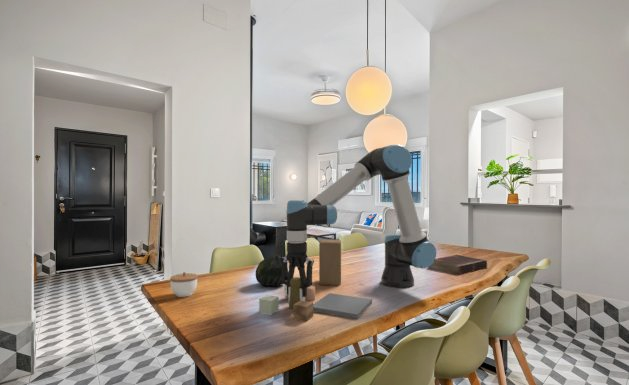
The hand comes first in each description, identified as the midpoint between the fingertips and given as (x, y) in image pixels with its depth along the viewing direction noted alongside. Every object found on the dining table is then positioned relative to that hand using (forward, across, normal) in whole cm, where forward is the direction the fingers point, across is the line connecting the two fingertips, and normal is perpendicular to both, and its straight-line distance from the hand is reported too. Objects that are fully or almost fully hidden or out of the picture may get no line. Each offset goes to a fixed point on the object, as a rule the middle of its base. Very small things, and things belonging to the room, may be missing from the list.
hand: (296, 304), depth 122 cm
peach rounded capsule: (+1, 0, -10) cm, 10 cm away
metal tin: (+1, +7, -8) cm, 11 cm away
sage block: (+1, +7, +8) cm, 11 cm away
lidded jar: (+1, +50, +7) cm, 51 cm away
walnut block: (+1, -7, +8) cm, 11 cm away
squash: (+1, +25, -22) cm, 33 cm away
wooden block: (+1, +2, -37) cm, 37 cm away
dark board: (+1, -15, -8) cm, 17 cm away
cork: (+1, 0, 0) cm, 1 cm away
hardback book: (+2, -51, -98) cm, 110 cm away
